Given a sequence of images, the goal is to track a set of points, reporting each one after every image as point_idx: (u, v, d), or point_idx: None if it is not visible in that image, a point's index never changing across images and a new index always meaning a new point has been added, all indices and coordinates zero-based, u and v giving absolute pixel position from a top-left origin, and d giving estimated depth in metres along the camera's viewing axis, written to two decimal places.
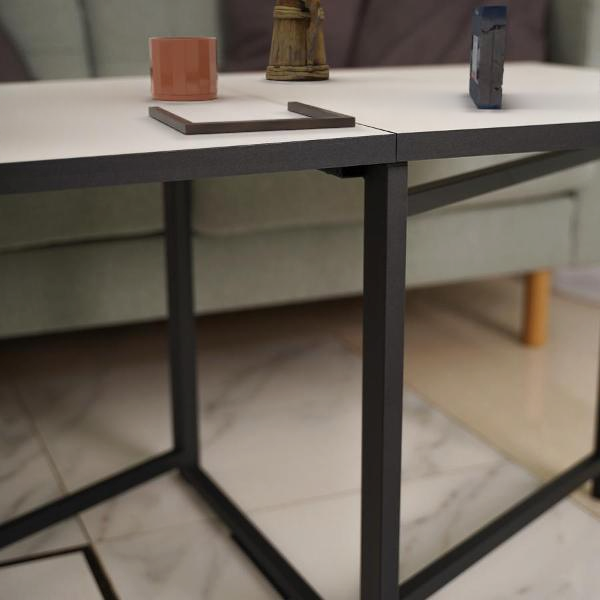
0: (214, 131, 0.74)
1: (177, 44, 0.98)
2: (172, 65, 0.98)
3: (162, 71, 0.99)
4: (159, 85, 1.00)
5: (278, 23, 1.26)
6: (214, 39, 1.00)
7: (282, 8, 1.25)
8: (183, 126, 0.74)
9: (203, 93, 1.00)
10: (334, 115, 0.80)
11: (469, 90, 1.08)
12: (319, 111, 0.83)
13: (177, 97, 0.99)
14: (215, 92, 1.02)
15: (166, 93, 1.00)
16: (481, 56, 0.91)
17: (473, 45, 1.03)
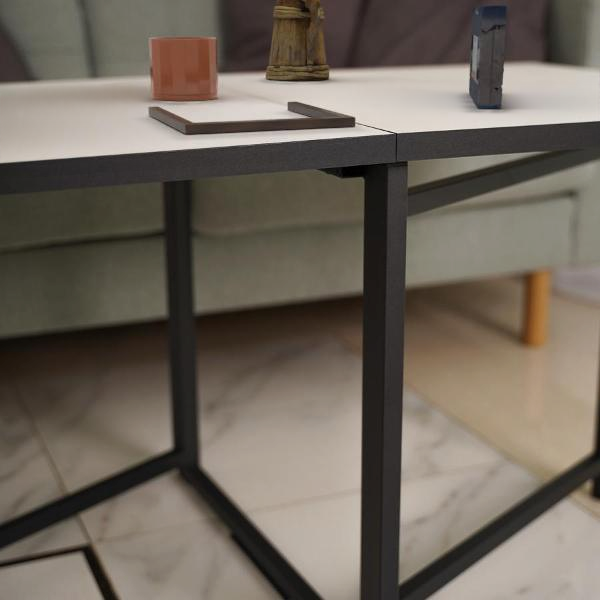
0: (214, 131, 0.74)
1: (177, 44, 0.98)
2: (172, 65, 0.98)
3: (162, 71, 0.99)
4: (159, 85, 1.00)
5: (278, 23, 1.26)
6: (214, 39, 1.00)
7: (282, 8, 1.25)
8: (183, 126, 0.74)
9: (203, 93, 1.00)
10: (334, 115, 0.80)
11: (469, 90, 1.08)
12: (319, 111, 0.83)
13: (177, 97, 0.99)
14: (215, 92, 1.02)
15: (166, 93, 1.00)
16: (481, 56, 0.91)
17: (473, 45, 1.03)
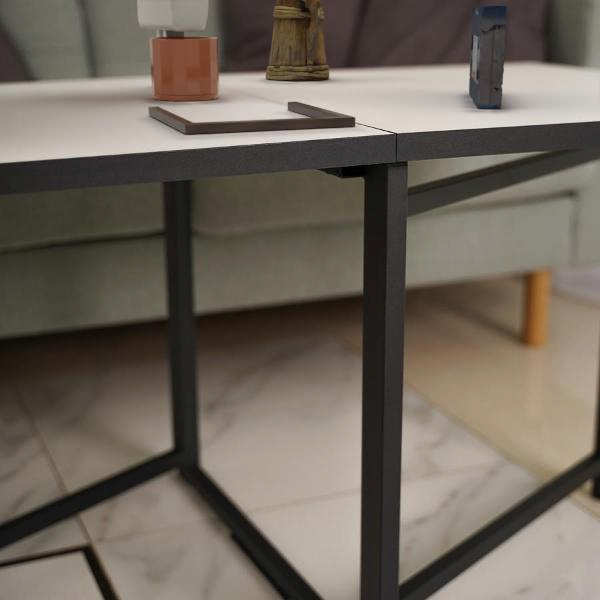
0: (214, 131, 0.74)
1: (178, 44, 0.97)
2: (172, 65, 0.98)
3: (163, 71, 0.99)
4: (159, 85, 1.00)
5: (278, 23, 1.26)
6: (215, 39, 1.00)
7: (282, 8, 1.25)
8: (183, 126, 0.74)
9: (204, 93, 1.00)
10: (334, 115, 0.80)
11: (469, 90, 1.08)
12: (319, 111, 0.83)
13: (177, 97, 0.99)
14: (216, 92, 1.01)
15: (167, 93, 0.99)
16: (481, 56, 0.91)
17: (473, 45, 1.03)
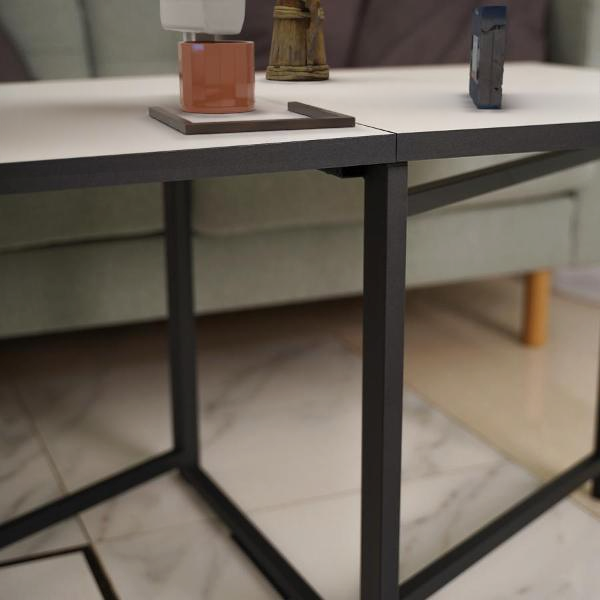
0: (214, 131, 0.74)
1: (211, 49, 0.86)
2: (205, 73, 0.87)
3: (194, 80, 0.88)
4: (189, 95, 0.88)
5: (278, 23, 1.26)
6: (252, 43, 0.89)
7: (282, 8, 1.25)
8: (183, 126, 0.74)
9: (240, 104, 0.89)
10: (334, 115, 0.80)
11: (469, 90, 1.08)
12: (319, 111, 0.83)
13: (210, 109, 0.88)
14: (252, 103, 0.90)
15: (198, 104, 0.88)
16: (481, 56, 0.91)
17: (473, 45, 1.03)
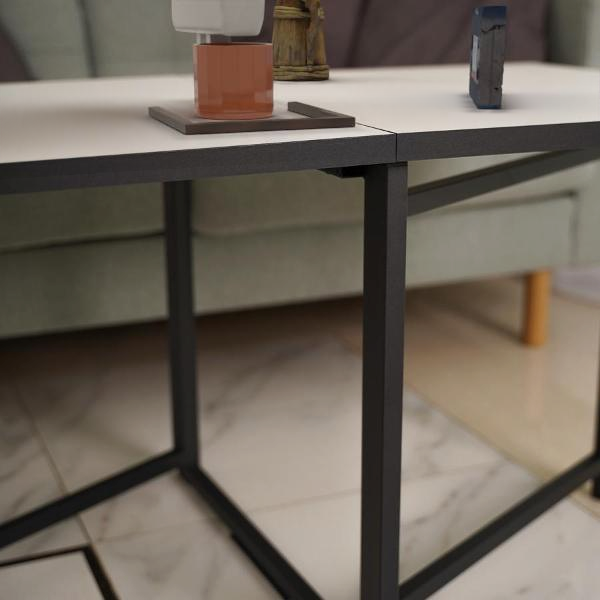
0: (214, 131, 0.74)
1: (229, 52, 0.81)
2: (222, 77, 0.82)
3: (210, 84, 0.83)
4: (205, 101, 0.83)
5: (278, 23, 1.26)
6: (271, 46, 0.84)
7: (282, 8, 1.25)
8: (183, 126, 0.74)
9: (258, 110, 0.84)
10: (334, 115, 0.80)
11: (469, 90, 1.08)
12: (319, 111, 0.83)
13: (227, 115, 0.83)
14: (271, 109, 0.85)
15: (214, 110, 0.83)
16: (481, 56, 0.91)
17: (473, 45, 1.03)
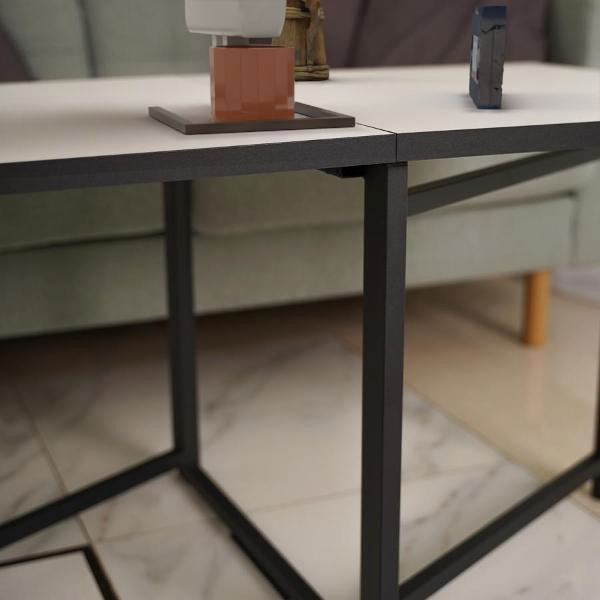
0: (214, 131, 0.74)
1: (248, 55, 0.76)
2: (241, 82, 0.77)
3: (228, 89, 0.78)
4: (223, 107, 0.78)
5: None
6: (293, 48, 0.79)
7: None
8: (183, 126, 0.74)
9: (279, 117, 0.79)
10: (334, 115, 0.80)
11: (469, 90, 1.08)
12: (319, 111, 0.83)
13: None
14: (292, 115, 0.80)
15: (232, 117, 0.78)
16: (481, 56, 0.91)
17: (473, 45, 1.03)
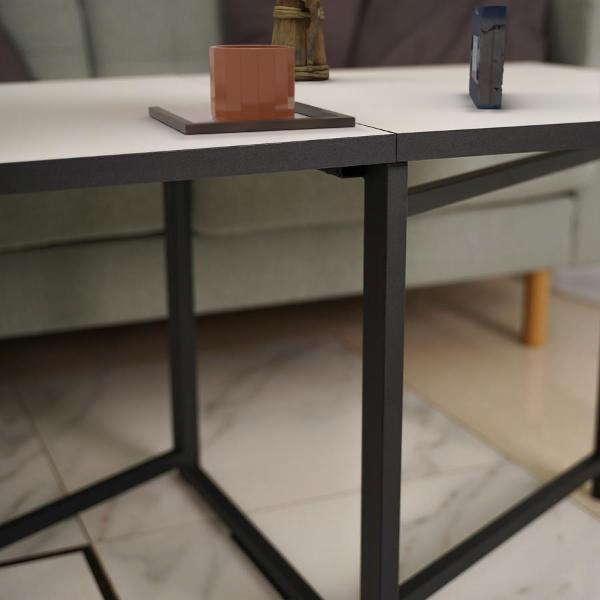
0: (214, 131, 0.74)
1: (248, 55, 0.76)
2: (241, 82, 0.77)
3: (228, 89, 0.77)
4: (223, 107, 0.78)
5: (278, 23, 1.26)
6: (293, 48, 0.79)
7: (282, 8, 1.25)
8: (183, 126, 0.74)
9: (279, 117, 0.79)
10: (334, 115, 0.80)
11: (469, 90, 1.08)
12: (319, 111, 0.83)
13: None
14: (293, 115, 0.80)
15: (232, 117, 0.78)
16: (481, 56, 0.91)
17: (473, 45, 1.03)
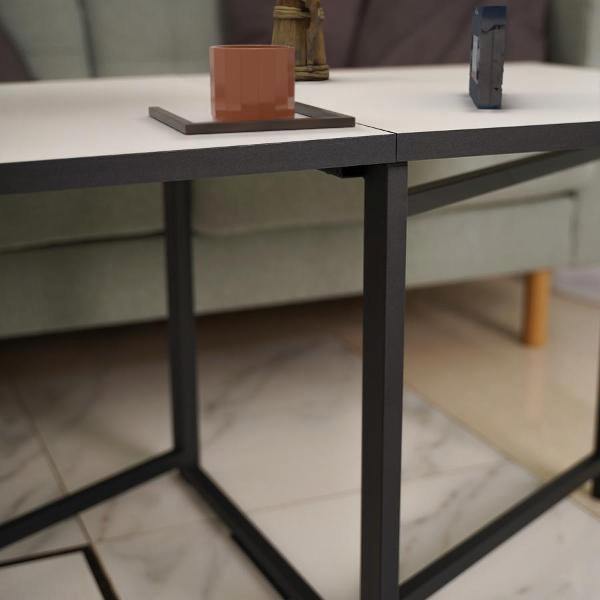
0: (214, 131, 0.74)
1: (248, 55, 0.76)
2: (241, 82, 0.77)
3: (228, 89, 0.77)
4: (223, 107, 0.78)
5: (278, 23, 1.26)
6: (293, 48, 0.79)
7: (282, 8, 1.25)
8: (183, 126, 0.74)
9: (279, 117, 0.79)
10: (334, 115, 0.80)
11: (469, 90, 1.08)
12: (319, 111, 0.83)
13: None
14: (293, 115, 0.80)
15: (232, 117, 0.78)
16: (481, 56, 0.91)
17: (473, 45, 1.03)
